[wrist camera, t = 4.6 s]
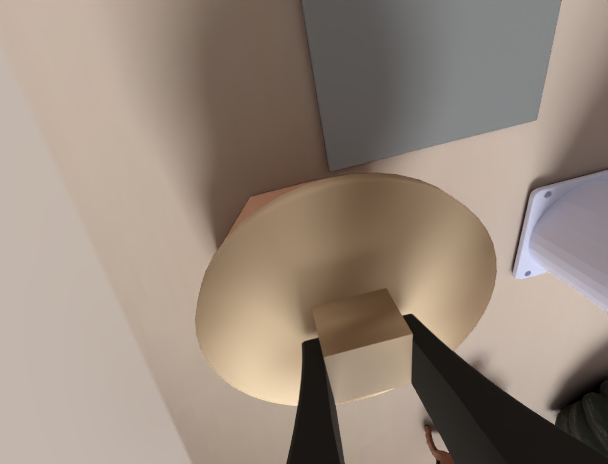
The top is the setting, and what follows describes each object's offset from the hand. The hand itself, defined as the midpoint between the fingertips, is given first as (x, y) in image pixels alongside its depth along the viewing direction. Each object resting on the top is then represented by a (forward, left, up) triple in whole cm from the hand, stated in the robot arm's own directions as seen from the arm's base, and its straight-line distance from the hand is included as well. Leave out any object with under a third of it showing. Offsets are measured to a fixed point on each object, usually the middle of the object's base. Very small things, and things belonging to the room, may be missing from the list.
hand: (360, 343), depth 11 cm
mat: (-8, -10, -9) cm, 16 cm away
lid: (0, 0, -2) cm, 2 cm away
